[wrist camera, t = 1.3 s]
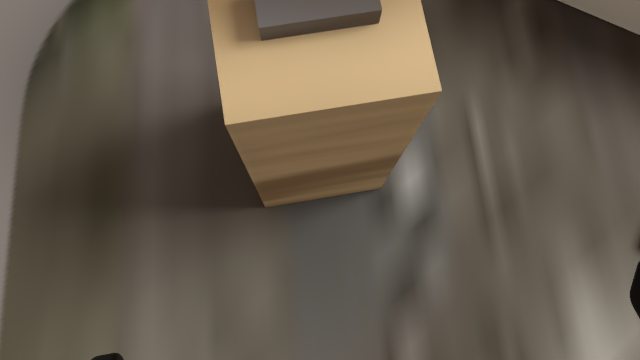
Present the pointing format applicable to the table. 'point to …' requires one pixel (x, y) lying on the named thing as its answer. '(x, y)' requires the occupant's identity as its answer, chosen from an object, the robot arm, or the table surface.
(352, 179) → the tan rectangular block
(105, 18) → the table surface
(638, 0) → the wall board
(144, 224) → the table surface
